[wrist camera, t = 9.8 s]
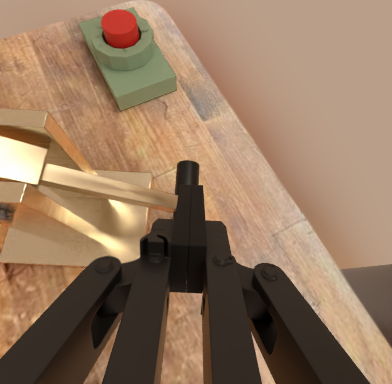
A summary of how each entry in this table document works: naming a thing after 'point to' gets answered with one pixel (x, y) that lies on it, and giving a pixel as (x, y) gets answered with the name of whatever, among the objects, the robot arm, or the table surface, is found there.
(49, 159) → the power switch
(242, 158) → the table surface
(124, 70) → the control pad
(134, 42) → the stop button
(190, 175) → the lever
